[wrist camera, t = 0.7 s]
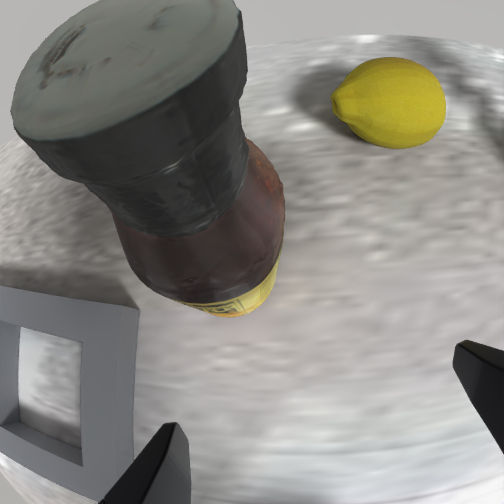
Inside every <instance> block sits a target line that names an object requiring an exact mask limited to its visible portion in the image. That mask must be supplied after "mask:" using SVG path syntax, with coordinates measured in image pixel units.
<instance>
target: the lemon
mask: <svg viewBox="0 0 504 504" xmlns="http://www.w3.org/2000/svg"><path fill="white" fill-rule="evenodd" d="M331 101H332V109H333V113H334V114H335V115H336V116H337V117H338V118H339V119H340V120H342V121H343V122H345V123H347V125H348V126H349V127H350V129H351V130H352V131H353V132H354V133H355V134H357V135H358V136H359V137H361V138H362V139H363V140H365V141H367V142H369V143H371V144H374V145H376V146H380V147H384V148H390V149H403V148H411V147H416V146H419V145H422V144H424V143H426V142H428V141H429V140H430V139H432V138H433V137H434V135H435V134H436V133H437V132H438V130H439V129H440V128H441V126H442V125H443V123H444V120H445V114H446V101H445V95H444V93H443V90H442V87H441V85H440V83H439V81H438V80H437V78H436V77H435V76H434V75H433V74H432V73H431V72H430V71H429V70H428V69H426V68H425V67H423V66H422V65H420V64H418V63H416V62H413V61H411V60H408V59H404V58H396V57H384V58H377V59H372V60H369V61H366V62H364V63H362V64H361V65H359V66H358V67H356V68H355V69H354V70H353V71H351V72H350V73H349V74H348V75H347V76H346V78H345V79H344V81H343V82H342V83H341V84H340V85H339V87H338V88H337V89H336V90H335V91H334V92H333V93H332V94H331Z"/></svg>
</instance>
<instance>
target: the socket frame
mask: <svg viewBox="0 0 504 504" xmlns="http://www.w3.org/2000/svg"><path fill="white" fill-rule="evenodd" d="M139 313H140V310H138V309H134V308H130V307H126V306H123V305H115V304H108V303H101V302H94V301H87V300H80V299H74V298H67V297H61V296H55V295H49V294H43V293H38V292H32V291H27V290H21V289H16V288H11V287H6V286H1V285H0V452H1V453H3V454H4V455H6V456H8V457H9V458H11V459H12V460H14V461H16V462H17V463H19V464H21V465H22V466H24V467H26V468H28V469H29V470H31V471H33V472H35V473H37V474H38V475H40V476H42V477H44V478H46V479H48V480H50V481H52V482H54V483H56V484H58V485H60V486H62V487H65V488H67V489H69V490H71V491H73V492H76V493H78V494H80V495H83V496H85V497H87V498H90V499H92V500H95V501H97V502H100V501H101V500H102V499H104V496H105V495H106V494H107V493H108V491H109V490H110V489H111V488H112V487H113V485H114V484H115V483H116V482H117V481H118V479H119V478H120V477H121V476H122V475H123V473H124V472H125V471H126V470H127V469H128V467H129V466H130V465H131V464H132V462H133V461H134V460H133V405H134V378H135V360H136V346H137V334H138V323H139ZM20 326H21V327H25V328H28V329H32V330H36V331H39V332H43V333H47V334H50V335H54V336H58V337H62V338H67V339H71V340H75V341H79V342H83V344H82V359H81V385H80V419H81V444H82V449H79V448H76V447H74V446H71V445H69V444H66V443H64V442H62V441H59V440H57V439H55V438H52V437H50V436H48V435H46V434H43V433H41V432H39V431H37V430H35V429H33V428H31V427H29V426H27V425H25V424H23V423H21V422H20V420H19V401H18V357H19V338H20Z"/></svg>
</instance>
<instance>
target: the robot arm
mask: <svg viewBox="0 0 504 504" xmlns="http://www.w3.org/2000/svg"><path fill="white" fill-rule="evenodd" d="M453 368H454V371H455V372H456V374H457V376H458V378H459V380H460V382H461V384H462V386H463V388H464V389H465V391H466V393H467V395H468V397H469V399H470V401H471V403H472V404H473V406H474V407H475V409H476V410H477V412H478V413H479V415H480V417H481V418H482V420H483V421H484V423H485V424H486V426H487V428H488V429H489V431H490V432H491V434H492V436H493V437H494V439H495V441H496V442H497V444H498V445H499V447H500V449H501V451H502V452H503V454H504V351H503V350H499V349H496V348H493V347H489V346H486V345H483V344H480V343H476V342H473V341H470V340H464V341H462V342H460V343H458V344H457V345H456V346H455V351H454V357H453ZM98 504H191V472H190V457H189V443H188V439H187V437H186V435H185V434H184V432H183V430H182V429H181V427H180V425H179V424H178V423H177V422H171V423H164V424H163V425H162V426H161V428H160V429H159V430H158V431H157V433H156V434H155V435H154V436H153V438H152V439H151V440H150V441H149V443H148V444H147V445H146V446H145V448H144V449H143V450H142V451H141V453H140V454H139V455H138V456H137V458H136V459H135V460H134V461H133V462H132V464H131V465H130V466H129V467H128V469H127V470H126V471H125V472H124V473H123V475H122V476H121V477H120V478H119V479H118V481H117V482H116V483H115V484H114V485H113V487H112V488H111V489H110V490H109V491H108V493H107V494H106V495H105V496H104V499H102V500H101V501H100V502H99V503H98Z"/></svg>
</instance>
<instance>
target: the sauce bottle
mask: <svg viewBox="0 0 504 504" xmlns="http://www.w3.org/2000/svg"><path fill="white" fill-rule="evenodd" d="M247 71H248V67H247V53H246V44H245V38H244V31H243V21H242V13H241V11H240V10H239V9H238V8H237V7H236V5H235V3H234V1H233V0H100V1H98V2H96V3H94V4H92V5H90V6H88V7H86V8H84V9H83V10H81V11H80V12H78V13H77V14H76V15H74V16H72V17H71V18H69V19H68V20H67V21H66V22H64V23H63V24H62V25H60V26H59V27H58V28H56V29H55V30H54V32H52V33H51V34H50V35H49V36H48V37H47V38H46V39H45V40H44V41H43V42H42V44H41V45H40V46H39V47H38V49H37V50H36V51H35V52H34V53H33V54H32V55H31V56H30V58H29V60H28V61H27V63H26V65H25V67H24V69H23V70H22V72H21V74H20V76H19V79H18V81H17V83H16V87H15V92H14V97H13V101H12V106H11V111H10V112H11V115H12V119H13V125H14V129H15V130H16V132H17V134H18V135H19V137H21V138H22V139H23V140H24V141H25V142H26V143H27V144H28V145H29V146H30V147H31V148H32V149H33V150H34V151H35V152H36V154H37V155H38V156H39V158H40V159H41V160H42V161H43V162H45V163H46V164H47V165H48V166H49V167H50V168H51V169H52V170H53V171H54V172H55V173H57V174H58V175H59V176H61V177H63V178H66V179H69V180H72V181H76V182H79V183H84V184H85V186H86V187H87V188H88V189H89V190H90V191H91V192H93V193H94V194H96V195H97V196H98V197H99V198H100V199H101V200H102V201H103V202H104V203H106V205H107V206H108V207H109V209H110V210H111V212H112V215H113V219H114V222H115V225H116V228H117V231H118V234H119V238H120V241H121V243H122V246H123V249H124V252H125V255H126V258H127V260H128V262H129V265H130V267H131V269H132V270H133V271H134V273H135V274H136V275H137V277H138V278H139V279H140V280H141V281H142V282H143V283H144V284H145V285H146V286H147V287H149V288H150V289H152V290H153V291H155V292H156V293H158V294H160V295H162V296H164V297H167V298H169V299H171V300H174V301H177V302H179V303H182V304H184V305H188V306H190V307H193V308H196V309H198V310H201V311H204V312H207V313H210V314H213V315H216V316H220V317H237V316H242V315H245V314H248V313H250V312H252V311H253V310H255V309H256V308H257V307H259V306H260V305H261V304H262V303H263V302H264V301H265V300H266V298H267V297H268V295H269V294H270V292H271V290H272V288H273V286H274V283H275V277H276V272H277V267H278V263H279V258H280V254H281V249H282V244H283V234H284V228H283V226H284V221H285V199H284V195H283V184H282V182H281V181H280V179H279V176H278V174H277V173H276V171H275V169H274V167H273V165H272V163H271V162H270V161H269V160H268V158H267V157H266V155H265V154H264V153H263V152H262V151H261V150H260V149H259V148H258V147H257V146H256V145H254V143H253V142H252V141H250V140H249V139H247V138H246V137H245V134H244V131H243V129H242V125H241V115H240V107H239V99H240V98H241V96H242V94H243V89H244V86H245V84H246V81H247V77H246V75H247Z"/></svg>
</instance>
